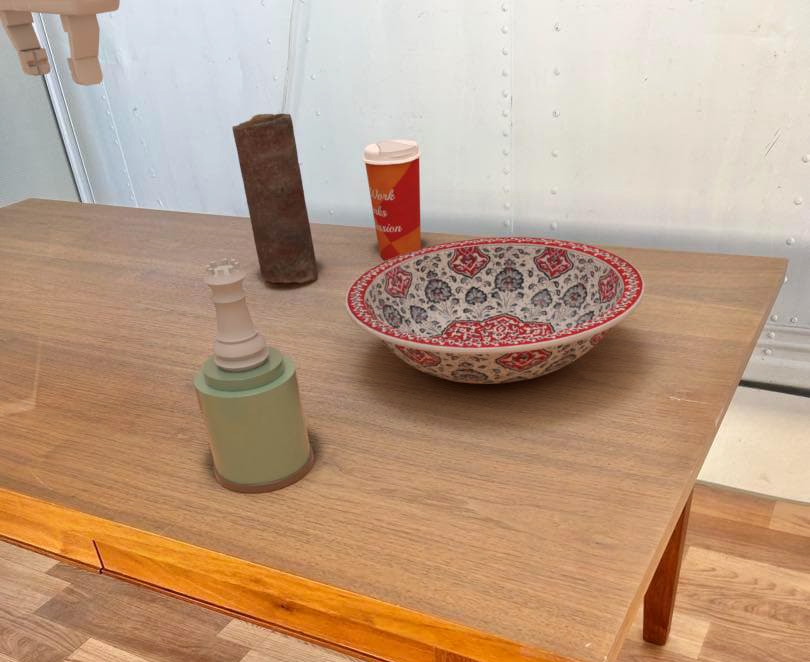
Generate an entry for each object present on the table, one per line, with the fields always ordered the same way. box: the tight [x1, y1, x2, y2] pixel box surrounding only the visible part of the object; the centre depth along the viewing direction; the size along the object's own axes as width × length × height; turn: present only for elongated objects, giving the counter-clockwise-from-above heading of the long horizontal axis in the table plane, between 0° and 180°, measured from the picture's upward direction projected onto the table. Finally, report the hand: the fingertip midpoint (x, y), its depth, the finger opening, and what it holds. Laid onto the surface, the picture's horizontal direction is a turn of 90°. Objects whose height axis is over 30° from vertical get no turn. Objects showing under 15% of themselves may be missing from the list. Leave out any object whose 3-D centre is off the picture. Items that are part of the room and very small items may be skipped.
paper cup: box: [361, 139, 423, 261], centre depth 112 cm, size 8×8×14 cm
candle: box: [232, 113, 319, 284], centre depth 106 cm, size 8×7×20 cm
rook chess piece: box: [203, 258, 269, 372], centre depth 67 cm, size 4×4×8 cm
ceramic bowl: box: [344, 236, 646, 385], centre depth 86 cm, size 29×29×8 cm
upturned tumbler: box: [193, 345, 315, 494], centre depth 72 cm, size 9×9×10 cm
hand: (62, 79), depth 66 cm, fingers open, 8 cm apart
